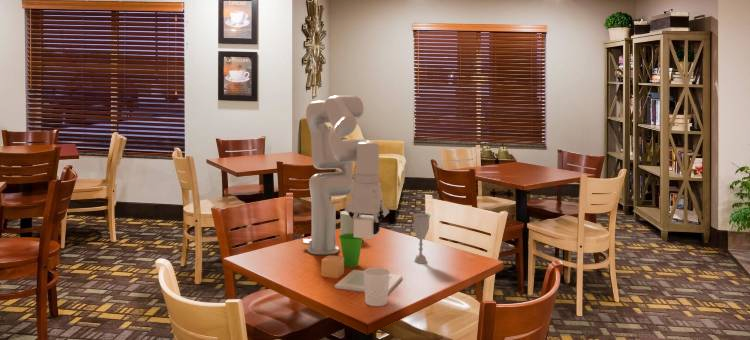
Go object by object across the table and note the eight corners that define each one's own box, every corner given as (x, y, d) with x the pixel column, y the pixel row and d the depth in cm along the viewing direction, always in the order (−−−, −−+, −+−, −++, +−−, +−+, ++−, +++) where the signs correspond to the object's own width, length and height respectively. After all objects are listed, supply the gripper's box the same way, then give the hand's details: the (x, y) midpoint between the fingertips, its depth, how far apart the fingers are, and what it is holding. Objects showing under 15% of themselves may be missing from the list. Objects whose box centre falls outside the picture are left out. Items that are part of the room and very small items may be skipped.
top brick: (321, 276, 214) (321, 259, 213) (328, 271, 219) (328, 255, 218) (337, 278, 212) (337, 261, 211) (343, 273, 217) (343, 257, 216)
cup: (366, 263, 230) (366, 234, 228) (358, 269, 221) (358, 240, 220) (344, 260, 233) (344, 232, 231) (335, 267, 224) (335, 237, 223)
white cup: (373, 296, 194) (373, 265, 193) (393, 301, 190) (394, 270, 188) (358, 303, 188) (358, 272, 186) (379, 309, 183) (380, 276, 182)
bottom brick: (353, 237, 202) (353, 219, 201) (362, 231, 209) (362, 214, 208) (370, 238, 200) (371, 220, 199) (378, 233, 207) (378, 216, 206)
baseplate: (334, 288, 201) (334, 284, 201) (353, 272, 218) (353, 269, 218) (386, 294, 196) (387, 291, 196) (402, 278, 213) (402, 274, 213)
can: (363, 236, 270) (363, 210, 268) (358, 241, 261) (358, 214, 259) (343, 235, 272) (343, 208, 270) (337, 240, 263) (337, 212, 261)
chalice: (428, 264, 229) (429, 217, 226) (410, 263, 230) (411, 216, 228) (430, 259, 236) (431, 213, 234) (412, 258, 237) (414, 212, 235)
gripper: (338, 179, 201) (338, 232, 204) (388, 182, 196) (387, 237, 198) (347, 176, 208) (346, 227, 211) (395, 179, 203) (394, 232, 205)
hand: (366, 232), depth 204 cm, fingers closed on bottom brick, 5 cm apart
